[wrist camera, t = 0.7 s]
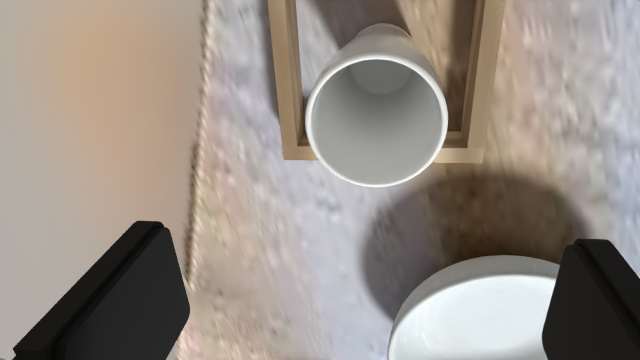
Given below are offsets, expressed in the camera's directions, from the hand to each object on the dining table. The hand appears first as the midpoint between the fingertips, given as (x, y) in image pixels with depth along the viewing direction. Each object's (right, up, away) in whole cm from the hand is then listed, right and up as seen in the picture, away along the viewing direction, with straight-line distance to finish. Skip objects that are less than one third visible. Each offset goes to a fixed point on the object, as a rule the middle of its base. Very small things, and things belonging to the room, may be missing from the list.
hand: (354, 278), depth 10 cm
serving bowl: (+17, -11, +32) cm, 38 cm away
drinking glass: (+4, +12, +22) cm, 26 cm away
